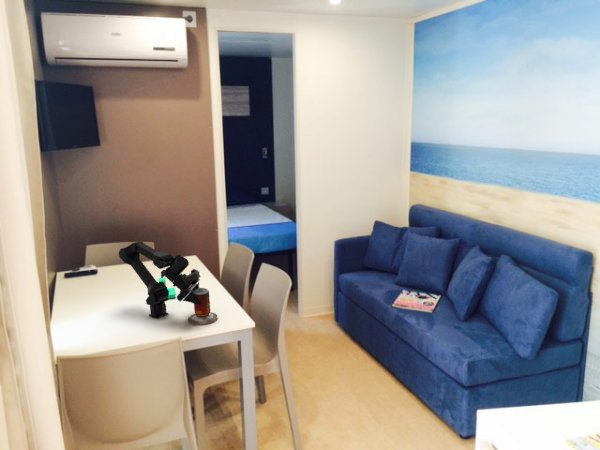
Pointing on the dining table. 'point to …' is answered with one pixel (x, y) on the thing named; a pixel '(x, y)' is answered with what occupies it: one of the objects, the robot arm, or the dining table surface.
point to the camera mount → (171, 290)
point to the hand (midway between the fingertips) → (202, 301)
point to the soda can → (202, 303)
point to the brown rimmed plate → (202, 319)
